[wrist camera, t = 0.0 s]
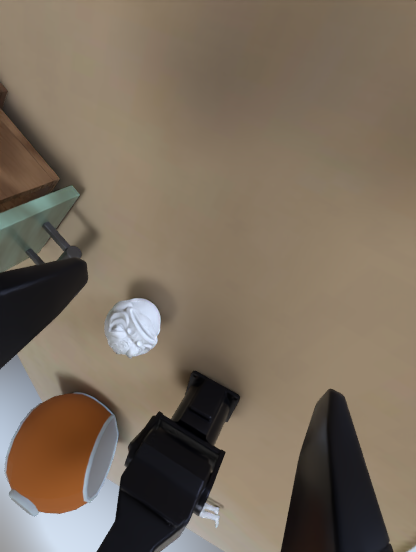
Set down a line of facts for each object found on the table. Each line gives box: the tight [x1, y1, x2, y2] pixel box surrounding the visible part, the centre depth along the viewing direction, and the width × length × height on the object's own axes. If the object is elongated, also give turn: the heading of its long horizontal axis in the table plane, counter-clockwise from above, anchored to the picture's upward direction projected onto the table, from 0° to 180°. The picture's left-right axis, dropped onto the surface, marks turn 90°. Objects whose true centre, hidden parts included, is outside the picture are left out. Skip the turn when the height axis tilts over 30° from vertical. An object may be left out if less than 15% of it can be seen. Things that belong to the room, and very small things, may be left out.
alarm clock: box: [4, 392, 119, 516], centre depth 55 cm, size 19×18×17 cm
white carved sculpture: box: [104, 298, 161, 358], centre depth 32 cm, size 6×7×7 cm
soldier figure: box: [199, 503, 220, 528], centre depth 59 cm, size 8×5×12 cm
